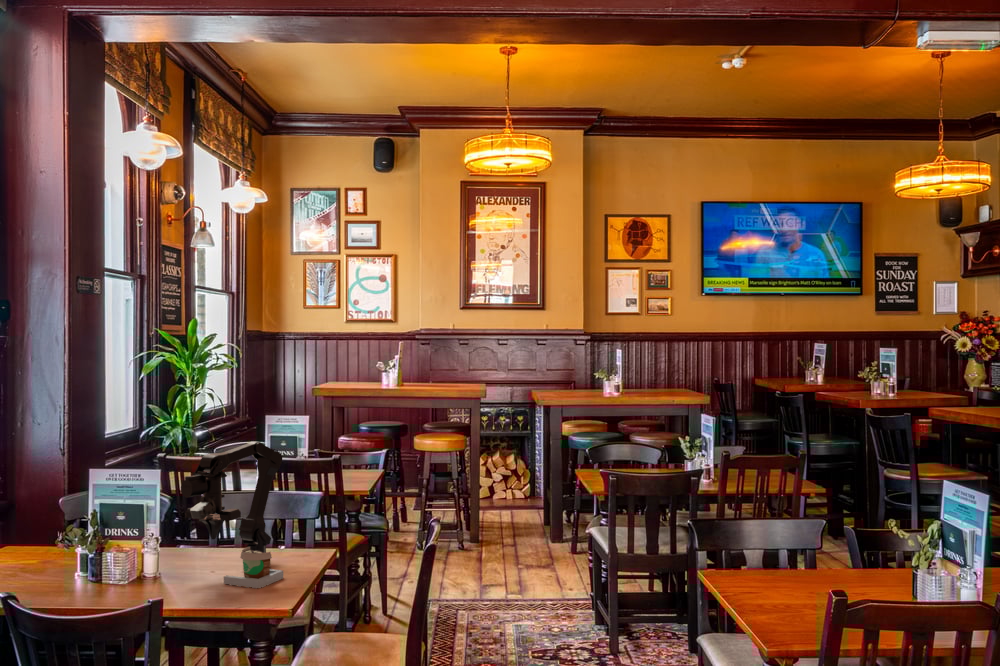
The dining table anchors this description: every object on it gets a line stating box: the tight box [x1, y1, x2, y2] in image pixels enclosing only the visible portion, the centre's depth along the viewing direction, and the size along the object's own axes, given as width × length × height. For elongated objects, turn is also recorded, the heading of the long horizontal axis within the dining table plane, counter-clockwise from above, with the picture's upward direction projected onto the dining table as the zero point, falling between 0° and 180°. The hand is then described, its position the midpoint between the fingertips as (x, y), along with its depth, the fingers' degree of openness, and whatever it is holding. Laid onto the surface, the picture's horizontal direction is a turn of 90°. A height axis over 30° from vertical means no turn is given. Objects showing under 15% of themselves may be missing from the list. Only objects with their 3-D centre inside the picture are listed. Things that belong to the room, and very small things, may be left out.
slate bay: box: [223, 568, 284, 589], centre depth 257 cm, size 12×14×2 cm
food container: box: [240, 546, 273, 579], centre depth 257 cm, size 12×6×10 cm, turn 52°
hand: (213, 539), depth 266 cm, fingers closed
